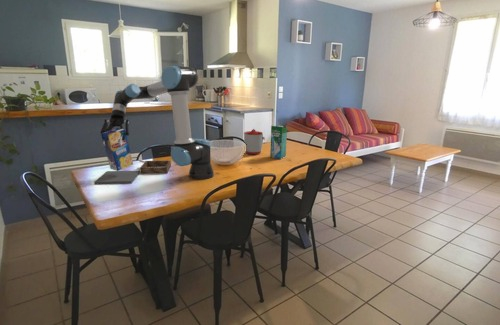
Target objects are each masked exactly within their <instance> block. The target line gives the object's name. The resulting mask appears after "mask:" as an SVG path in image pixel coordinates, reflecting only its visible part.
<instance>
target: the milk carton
mask: <svg viewBox="0 0 500 325" xmlns="http://www.w3.org/2000/svg"><path fill="white" fill-rule="evenodd" d="M270 129H271V131H270V151H269V154H270V155H269V158H270V157H274V158H273V159H275V158H279V159H278V160H282V159H284V158H283V157H285V156H286V154H287V137H288V127H284V126H283V125H277V126H275V125H271V126H270ZM281 158H282V159H281ZM285 158H286V157H285Z"/></svg>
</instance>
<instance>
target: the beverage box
mask: <svg viewBox="0 0 500 325" xmlns="http://www.w3.org/2000/svg"><path fill="white" fill-rule="evenodd" d="M123 132H124V133H125V134H126V128H125V129H124V128H123V129H121V128H120V127H119V128H118V127H117V128H113V129H112V130H110V131H107V132H104V133H100V136H101V139H102V142H104V141H105V146H104V145H103V146H104V151H105V154H106V158H107V161H108V164H109V165H108V166H109V169H110V170H112V171H122V170H123V169H125V168H128V167H130V166H132V165H134V162H133V158H132V154H131V153H132V152H131V150H130V146H129V145H130V144H129V141H128V137H127V136H128V135H125V134H123ZM124 135H125V140H124V141H123V140H122V141H123V143H122V146H120V144H119V142H120V138H121V136H122V137H123V136H124Z"/></svg>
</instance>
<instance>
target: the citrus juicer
mask: <svg viewBox="0 0 500 325" xmlns="http://www.w3.org/2000/svg"><path fill="white" fill-rule="evenodd" d="M243 136H244V137H243V143H244V142H245V143H246V144H247V145H246V151H245V153H246V154H248V155H256V154H258V155H259V153H260V154H261V152H262V150H263V142H264V141H265V140H266V138H265V136H263V132H262V131H257V130H256V129H255V128H253V129H252V130H250V131H244V132H243Z"/></svg>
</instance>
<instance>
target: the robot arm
mask: <svg viewBox="0 0 500 325" xmlns="http://www.w3.org/2000/svg"><path fill="white" fill-rule="evenodd" d="M160 76H161V77H160V78H161V79H160V80H159V81H156V82H154V83H151V84H149V85H148V84H147V85H145V86H138V85H137V84H135V83H130V84H129V85H127V86H125V88H124V89H123V90H121V89H120V90H117V91H116V93H115V95H114V100H113V105H112V109H111V115H110V118H109V119H104V123H103V125H102V127H101V129H100V134H101V133H104V132H107V131H110V130H113V129H115V127H117V128H118V127H119V129H124V127H123V125H124V124H125V132H126V134H125V133H124V132H123V134H125V135H126V136H130V128H129V125H130V121H129V119H125V118H126V112H127V107H128V104H129V103H131V102H132V101H133V100H145V99H153V98H155V97H156V96H160V95H162V94H163V95H164V94H166V93H167V94H169V95H170V99H171V107H172V115H173V124H174V132H175V140H174V142H173V148H171V150H170V157H171V159H172V161H173V163H175V164H176V165H177V166H179V167H185V166H187V167H188V166H189V165H190V167H189V172H188V176H189V178H190V179H193V180H207V179H211V178H213V177H214V173H215V172H214V169H213V167H212V164H211V147H212V146H211V142H210V140H209V139H203V138H193V137H192V130H191V120H190V118H191V117H190V110H189V103H188V102H189V101H188V94H189V93H190V89H192V88H194V87H195V86H196V85H197V84H198V82H199V75H198V72H197V71H196V70H195V69H194V68H193V67H191V66H182V65H169V66H166V67H165V68H164V69H163V70H162V72H161V75H160ZM125 135H124V136H123V137H122V136H121V138H120V142H119V144H120V146H122V143H123V141H124V140H125ZM122 140H123V141H122ZM102 142H103V141H102ZM102 145H103V146H105V141H104V142H103V143H102Z"/></svg>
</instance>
